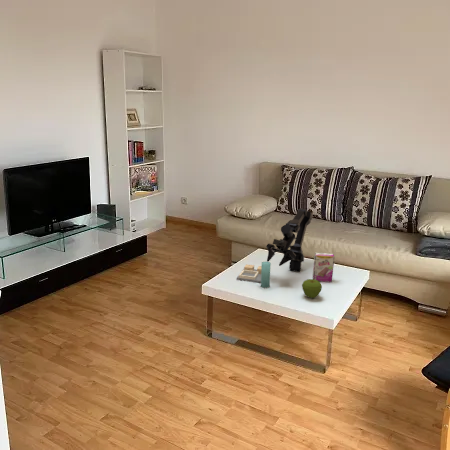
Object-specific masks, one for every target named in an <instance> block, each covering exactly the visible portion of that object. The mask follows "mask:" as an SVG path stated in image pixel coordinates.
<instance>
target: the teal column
mask: <svg viewBox="0 0 450 450" xmlns="http://www.w3.org/2000/svg"><path fill="white" fill-rule="evenodd" d="M271 265H272V264H271V262H270V261H268V262H267V261H261V266H262V267H261V283H260V287H261V288H263V289H269V288H270V287H271V285H270V284H271Z"/></svg>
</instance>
